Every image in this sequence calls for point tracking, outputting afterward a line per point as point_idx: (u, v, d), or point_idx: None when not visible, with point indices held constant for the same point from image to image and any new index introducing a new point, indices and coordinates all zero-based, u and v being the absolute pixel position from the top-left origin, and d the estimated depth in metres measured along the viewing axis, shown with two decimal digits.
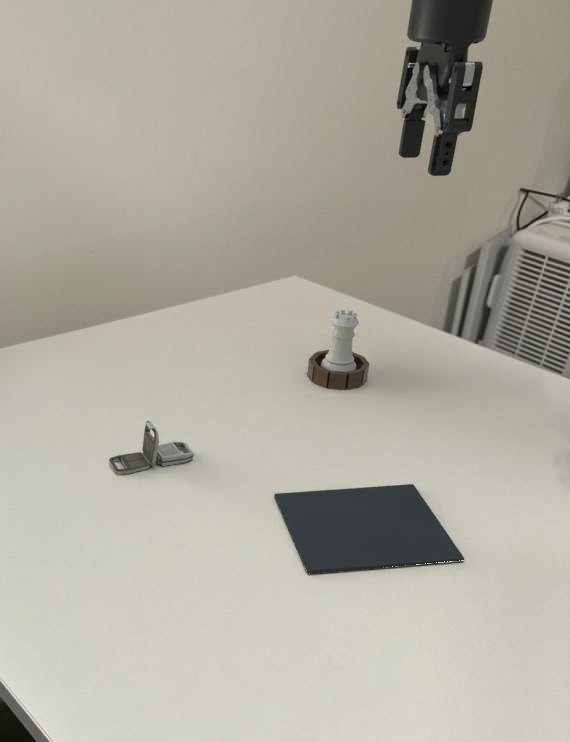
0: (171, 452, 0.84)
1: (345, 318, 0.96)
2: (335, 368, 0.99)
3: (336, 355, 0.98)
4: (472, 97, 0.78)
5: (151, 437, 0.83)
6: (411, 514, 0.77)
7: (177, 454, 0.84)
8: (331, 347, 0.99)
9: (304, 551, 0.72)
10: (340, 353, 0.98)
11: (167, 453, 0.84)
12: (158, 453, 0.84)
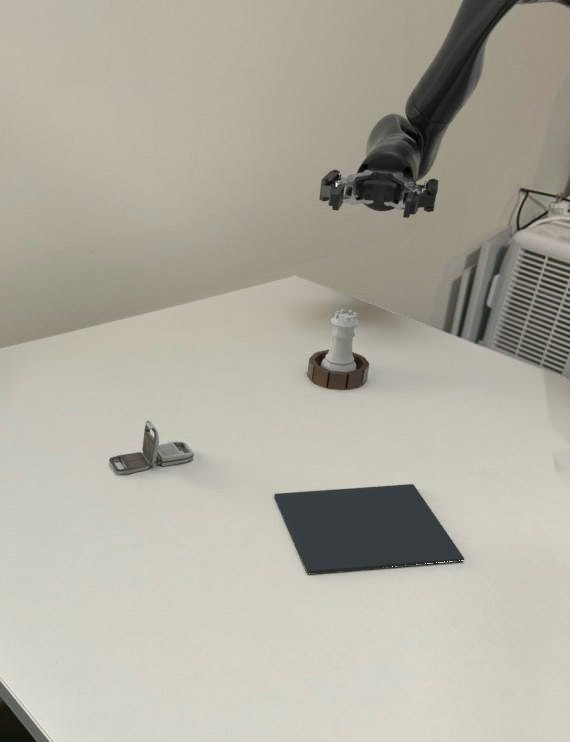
0: (171, 452, 0.84)
1: (345, 318, 0.96)
2: (335, 368, 0.99)
3: (336, 355, 0.98)
4: None
5: (151, 437, 0.83)
6: (411, 514, 0.77)
7: (177, 454, 0.84)
8: (331, 347, 0.99)
9: (304, 551, 0.72)
10: (340, 353, 0.98)
11: (167, 453, 0.84)
12: (158, 453, 0.84)
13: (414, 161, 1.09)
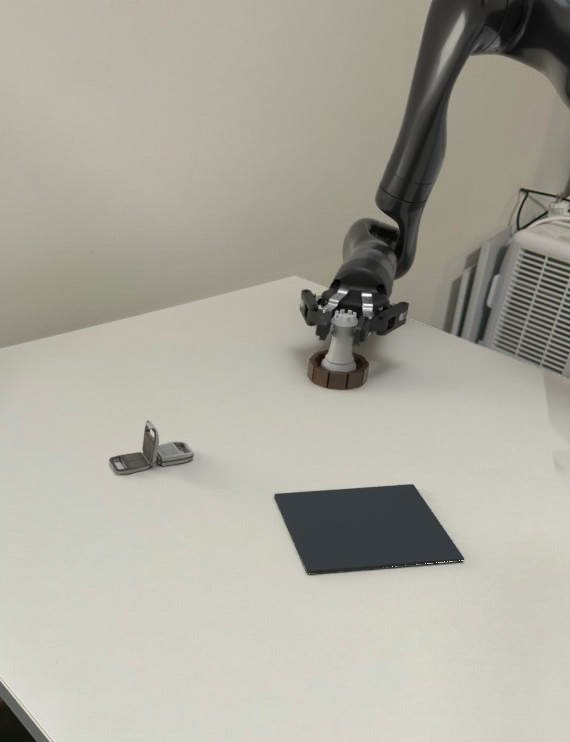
0: (171, 452, 0.84)
1: (345, 318, 0.96)
2: (335, 368, 0.99)
3: (336, 355, 0.98)
4: (304, 301, 1.01)
5: (151, 437, 0.83)
6: (411, 514, 0.77)
7: (177, 454, 0.84)
8: (331, 347, 0.99)
9: (304, 551, 0.72)
10: (340, 353, 0.98)
11: (167, 453, 0.84)
12: (158, 453, 0.84)
13: (388, 275, 1.06)
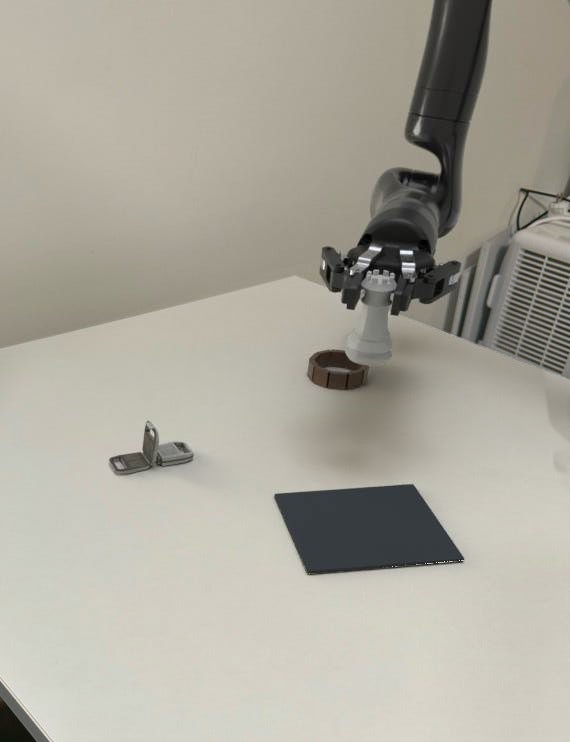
0: (171, 452, 0.84)
1: (380, 280, 0.74)
2: (366, 346, 0.77)
3: (367, 329, 0.76)
4: (326, 261, 0.79)
5: (151, 437, 0.83)
6: (411, 514, 0.77)
7: (177, 454, 0.84)
8: (361, 319, 0.76)
9: (304, 551, 0.72)
10: (373, 327, 0.76)
11: (167, 453, 0.84)
12: (158, 453, 0.84)
13: (432, 229, 0.83)
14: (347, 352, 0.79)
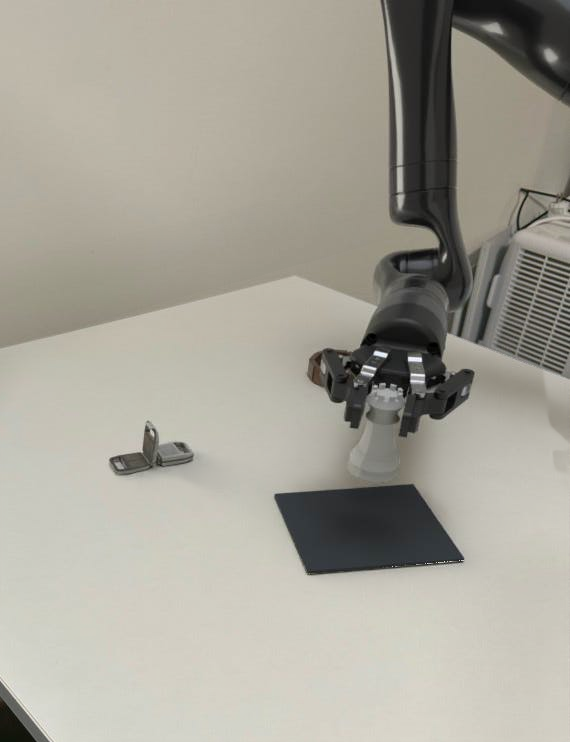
0: (171, 452, 0.84)
1: (387, 397, 0.67)
2: (371, 464, 0.70)
3: (372, 446, 0.70)
4: (327, 367, 0.73)
5: (151, 437, 0.83)
6: (411, 514, 0.77)
7: (177, 454, 0.84)
8: (365, 435, 0.70)
9: (304, 551, 0.72)
10: (379, 445, 0.69)
11: (167, 453, 0.84)
12: (158, 453, 0.84)
13: (442, 327, 0.77)
14: (350, 468, 0.72)
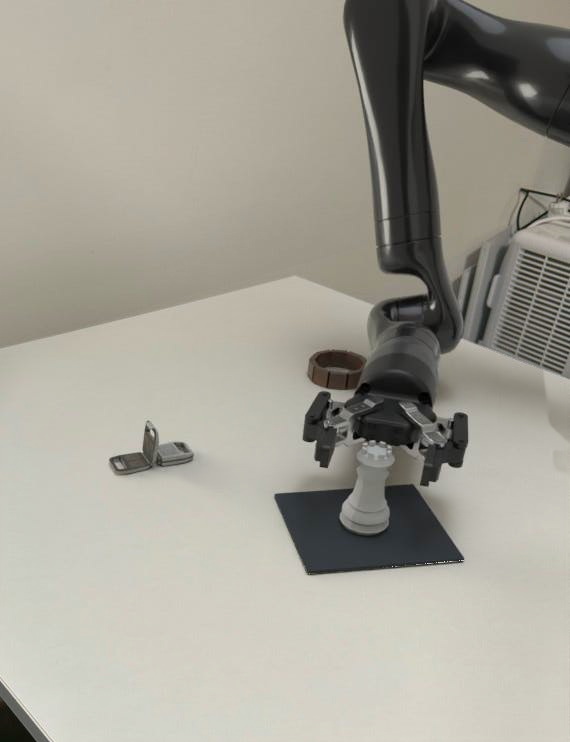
0: (171, 452, 0.84)
1: (376, 455, 0.71)
2: (362, 517, 0.73)
3: (363, 500, 0.73)
4: None
5: (151, 437, 0.83)
6: (411, 514, 0.77)
7: (177, 454, 0.84)
8: (356, 489, 0.73)
9: (304, 551, 0.72)
10: (369, 499, 0.72)
11: (167, 453, 0.84)
12: (158, 453, 0.84)
13: (433, 376, 0.80)
14: (342, 519, 0.75)
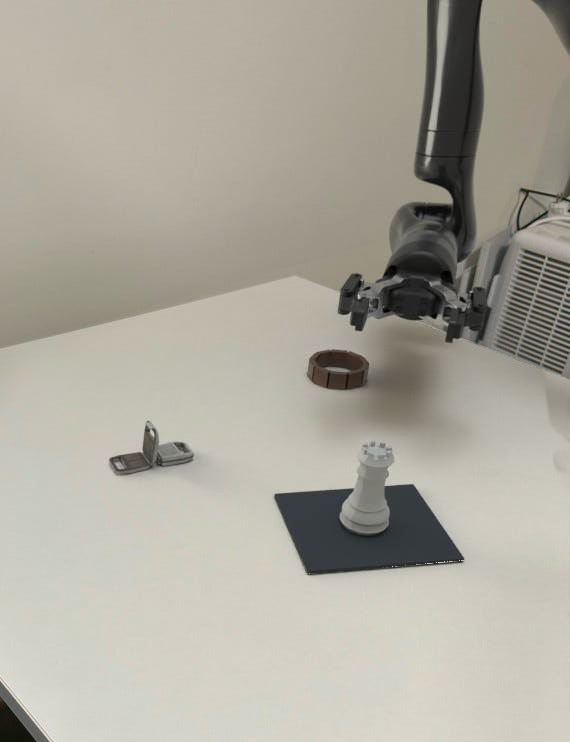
0: (171, 452, 0.84)
1: (376, 455, 0.71)
2: (362, 517, 0.73)
3: (363, 500, 0.73)
4: None
5: (151, 437, 0.83)
6: (411, 514, 0.77)
7: (177, 454, 0.84)
8: (356, 489, 0.73)
9: (304, 551, 0.72)
10: (369, 499, 0.72)
11: (167, 453, 0.84)
12: (158, 453, 0.84)
13: (453, 260, 0.89)
14: (342, 519, 0.75)
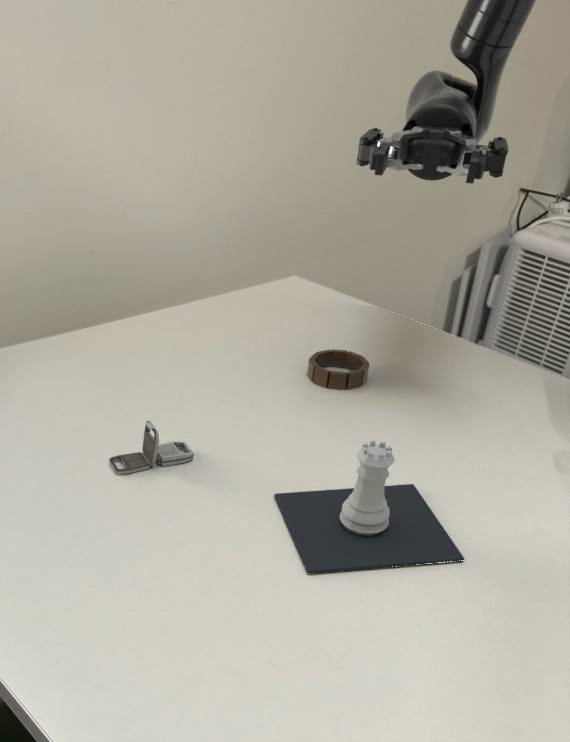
0: (171, 452, 0.84)
1: (376, 455, 0.71)
2: (362, 517, 0.73)
3: (363, 500, 0.73)
4: None
5: (151, 437, 0.83)
6: (411, 514, 0.77)
7: (177, 454, 0.84)
8: (356, 489, 0.73)
9: (304, 551, 0.72)
10: (369, 499, 0.72)
11: (167, 453, 0.84)
12: (158, 453, 0.84)
13: (472, 118, 0.88)
14: (342, 519, 0.75)
